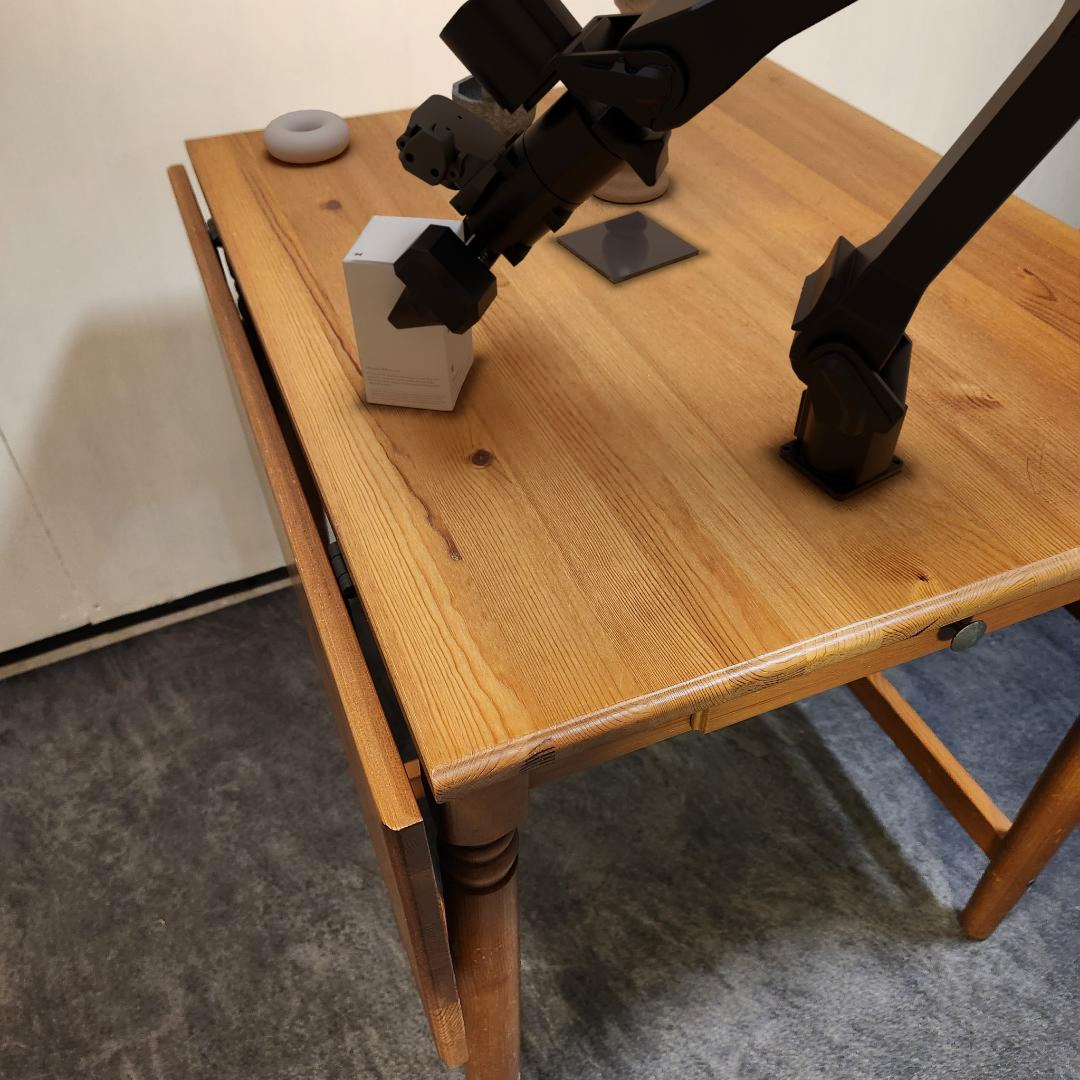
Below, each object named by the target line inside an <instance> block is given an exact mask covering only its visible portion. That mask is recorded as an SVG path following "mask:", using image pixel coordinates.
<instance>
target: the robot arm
mask: <svg viewBox="0 0 1080 1080" xmlns="http://www.w3.org/2000/svg"><path fill="white" fill-rule="evenodd" d="M858 1H859V0H657V1H655V2H654V3H653V4H652V5H651V6H650V7H649V8H648V9H647V10H646V11H645V12H637V13H623V14H620V13H611V14H610V13H609V14H597V15H595V16H593V17H592V18H590V20H589V21H588V22H587V23H586V24H585V25H584V26H582V25H581V24H580V22H579V21H578V20H577V19H576V17H575V16H574V15H573V14H572V12H571V11H570V10H569V9H568V8H567V6H566V5H565V4H564V2H563V1H562V0H466V1H465V2H464V3H462V4H461V6H460V7H459V8H458V9H457V11H455V13H454V14H453V15H452V16H451V18H450V19H448V21H447V23H446V24H445V25H444V27H443V28H442V30H441V31H440V33H439V35H438V37H439V39H440V40H441V41H442V43H444V44H445V45H446V47H447V48H448V50H450V51H451V52H452V54H453V55H454V56H455V57H456V58H457V59H458V61H460V63H461V64H462V65H463V66H464V67H465V69H466V70H467V71H468V72H469V73H470V75H473V77H474V78H475V79H476V80H477V81H478V82H479V84H480V85H481V86H482V87H483V88H484V89H485V91H486V92H487V93H488V94H489V95H490V96H491V98H492V99H493V100H494V101H495V102H496V103H497V104H498V106H499V107H500V108H501V109H502V110H503V111H504V110H505V109H506V110H507V111H508V112H509V113H510V114H511V115H512V114H513V113H514V112H515V111H516V110H517V109H518V108H519V107H520V106H521V105H523V106H522V108H523V109H524V110H525V111H526V113H528V112H529V111H530V110H531V109H532V108H533V107H534V106H535V105H536V104H537V105H538V104H539V102H541V101H542V100H543V99H544V98H545V97H546V96H547V95H548V93H550V92H551V90H552V89H553V88H554V87H555V86H556V85H557V84H558V83H559V82H561V83H562V84H563V86H564V87H565V88H566V90H565V91H564V92H563V93H562V94H561V95H560V96H559V97H558V98H557V99H556V100H555V101H554V102H553V103H552V104H551V105H550V106H549V107H548V108H547V109H546V110H545V111H544V112H543V113H542V114H540V116H539V117H537V119H536V120H534V121H533V123H532V125H531V126H528V127H527V128H526V129H525V130H524V129H523V128H522V127H520V128H519V129H518V130H517V131H516V132H515V133H514V134H513V135H512V136H511V137H508V138H507V137H505V136H504V135H503V134H501V133H500V132H498V131H497V130H495V129H494V128H493V126H492V125H491V124H490V123H488V122H487V121H485V120H484V119H482V118H481V117H479V116H477V115H476V114H474V113H472V112H471V111H469V110H468V109H466V108H464V107H463V106H461V105H459V104H458V103H456V102H454V101H453V100H452V98H449V97H448V96H446V95H443V94H439V93H438V94H431V95H430V96H428V98H427V99H426V100H424V101H423V102H422V103H420V105H418V106H417V107H416V109H414V110H413V111H412V112H411V114H410V117H409V119H408V122H407V125H406V128H405V131H404V132H403V133H402V134H401V135H399V137H397V139H396V140H395V144H396V148H397V149H398V150H399V152H398V156H397V158H398V160H399V162H400V163H401V165H402V168H403V169H404V171H406V172H407V173H409V174H411V175H412V176H414V177H416V178H418V179H419V180H421V181H422V182H424V183H425V184H426V185H429V186H431V187H435V186H439V185H440V186H443V187H444V188H446V189H448V190H450V191H457V193H456V194H455V195H454V196H453V197H452V198H451V199H450V200H449V201H448V203H449V204H450V206H451V207H452V208H453V209H454V211H455V212H456V213H458V215H460V216H461V217H463V219H462V221H463V231H464V242H465V243H464V242H463V241H462V240H461V239H460V238H459V237H458V236H457V235H456V233H455V232H454V231H453V230H452V229H451V228H450V227H449V226H442V225H435V224H430V225H429V226H428V227H427V228H426V229H425V230H424V231H423V232H422V233H421V234H420V235H419V236H418V237H417V238H416V239H415V240H414V241H413V242H412V243H411V244H410V245H409V246H408V248H407V249H406V250H405V251H404V252H403V253H402V254H401V255H400V256H399V258H398V259H397V260H396V261H395V262H394V263H393V267H394V272H395V275H396V276H397V277H398V278H399V279H400V280H401V281H402V282H403V283H404V284H405V285H406V286H405V288H404V290H403V292H402V293H401V295H400V297H399V299H398V300H397V302H396V304H395V305H394V307H393V309H392V311H391V312H390V314H389V316H388V318H387V320H388V321H389V322H390V323H391V324H392V325H393V326H394V327H395V328H396V329H408V328H417V327H426V326H446V327H447V328H448V329H449V330H450V331H451V332H452V333H454V334H459V335H463V334H464V333H465V332H466V331H467V330H469V329H470V328H471V327H473V326H475V325H476V324H477V323H478V322H480V320H482V318H483V316H484V315H485V313H486V312H487V311H488V309H489V308H490V307H491V305H492V303H494V301H495V299H496V298H497V297H498V280H497V279H498V278H497V276H496V275H495V274H494V272H492V271H491V269H492V268H493V266H494V265H495V264H496V262H497V261H498V260H499V258H500V257H501V256H503V257H504V258H505V260H506V261H507V262H508V263H509V264H510V265H511V266H512V267H513V268H516V267H517V266H518V265H519V264H521V262H522V261H524V260H525V258H526V257H527V255H528V254H529V252H530V251H531V250H532V248H533V247H534V245H535V244H537V243H538V242H539V241H540V240H541V239H542V238H544V236H546V235H547V234H548V233H549V232H550V231H551V232H552V233H553V234H556V233H557V232H558V231H559V230H560V229H562V228H563V227H564V226H565V225H566V224H567V222H568V221H569V219H570V218H571V216H573V215H572V214H573V213H574V212H575V210H577V209H578V207H580V206H581V205H582V204H583V203H584V202H586V201H587V200H588V199H589V198H590V197H591V196H593V195H594V193H595V192H596V191H597V190H598V189H600V188H601V187H602V186H603V185H604V184H605V183H607V182H608V181H609V180H610V179H611V178H612V177H614V176H615V175H616V174H617V173H618V172H619V171H621V170H622V169H623V168H624V167H625V166H627V165H628V164H629V165H630V167H631V168H632V169H633V170H634V172H635V173H636V174H637V175H638V176H639V178H640V179H641V180H642V181H643V182H644V184H645V185H646V186H648V187H653V186H654V185H655V184H656V183H657V181H658V179H659V178H660V176H661V174H662V172H663V171H664V170H665V169H666V167H667V166H668V164H669V162H670V158H669V142H670V140H671V136H672V133H673V132H672V130H675V129H678V128H681V127H682V126H684V125H686V124H687V123H689V122H690V121H691V120H692V119H694V118H695V117H696V116H697V115H698V114H701V112H702V111H704V110H705V109H706V108H707V107H709V106H710V105H711V104H713V103H714V102H715V101H716V100H717V99H719V98H720V97H721V96H723V95H724V94H725V93H726V92H727V91H729V90H730V89H731V88H733V86H734V85H735V84H736V83H737V82H739V81H740V80H741V79H742V78H743V77H744V76H745V75H746V74H747V73H748V72H749V71H751V70H752V69H753V68H754V67H755V66H756V65H757V64H759V62H761V60H763V59H764V58H766V56H768V55H769V54H770V53H771V52H773V51H774V50H775V49H776V48H777V47H779V46H780V45H781V44H783V43H785V42H786V41H789V40H790V39H792V38H793V37H795V36H797V35H799V34H801V33H803V32H805V31H806V30H808V29H810V28H812V27H814V26H815V25H817V24H819V23H821V22H822V21H824V20H826V19H828V18H829V17H832V16H833V15H835V14H837V13H838V12H840V11H842V10H845V9H846V8H847V7H849V6H851V5H853V4H855V3H857V2H858ZM1079 120H1080V0H1064V2H1063V4H1062V5H1061V8H1060V9H1059V10H1058V13H1057V14H1056V16H1055V18H1054V19H1053V21H1052V22H1051V23H1050V25H1049V26H1048V27H1047V28H1046V29H1045V30H1044V32H1043V33H1042V34H1041V35H1040V36H1039V38H1038V39H1037V40H1036V41H1035V42H1034V44H1033V45H1032V46H1031V47H1030V49H1029V50H1028V51H1027V52H1026V53H1025V55H1024V56H1023V57H1022V59H1021V60H1020V61H1019V62H1018V64H1017V65H1016V66H1015V67H1014V68H1013V70H1012V71H1011V73H1010V74H1009V75H1008V76H1007V77H1006V79H1004V81H1003V82H1002V84H1000V86H999V87H998V88H997V89H996V91H995V92H994V93H993V94H992V95H991V97H990V98H989V99H988V101H987V102H986V103H985V104H984V105H983V107H982V108H981V109H980V111H978V113H977V114H976V115H975V116H974V118H973V119H972V120H971V122H970V123H969V124H968V125H967V126H966V128H965V129H964V130H963V131H962V133H960V134H959V136H958V138H957V139H956V140H955V141H954V142H953V144H952V145H951V146H950V147H949V148H948V150H947V151H946V152H945V153H944V155H942V157H941V158H940V160H939V161H938V162H937V163H936V164H935V166H934V167H933V168H932V170H931V171H930V172H929V173H928V175H927V176H926V177H925V178H924V179H923V180H922V182H921V183H920V184H919V186H918V187H917V188H916V189H915V190H914V192H913V193H912V194H911V195H910V196H909V197H908V199H907V200H906V201H905V203H904V204H903V205H902V206H901V208H899V210H898V211H897V212H896V214H895V215H894V216H893V217H892V219H891V220H890V221H889V222H888V224H887V225H886V226H885V227H884V228H883V229H882V230H881V231H880V232H879V233H878V234H877V235H875V236H873V237H872V238H870V239H869V240H867V241H865V242H863V243H861V244H860V245H858V246H857V247H856V246H855V245H854V244H853V243H852V242H851V241H849V240H848V239H847V238H846V237H845V236H844V235H839V236H838V238H837V239H836V240H835V242H834V245H833V247H832V248H831V250H830V252H829V254H828V256H827V257H826V258H825V260H824V262H823V263H821V265H820V266H819V267H818V268H817V269H816V270H814V271H813V272H811V273H810V274H808V275H806V276H805V278H804V281H803V285H802V288H801V292H800V295H799V299H798V301H797V305H796V307H795V308H796V309H795V313H794V316H793V319H792V322H791V326H790V330H791V331H794V334H793V338H792V342H791V346H790V347H789V353H788V358H789V361H790V367H791V369H792V371H793V373H794V374H795V376H796V377H797V379H798V380H799V381H800V382H801V383H803V384H804V385H805V386H806V388H805V389H803V390H802V391H801V395H800V396H801V397H800V400H799V406H798V410H797V415H796V419H795V424H794V429H793V436H794V437H795V439H792V440H790V441H788V442H786V443H783V444H781V445H780V446H779V448H778V449H779V450H778V455H780V456H781V457H782V458H783V459H785V460H786V461H787V462H788V463H790V464H791V465H792V466H793V467H795V468H796V469H797V470H798V471H800V472H801V473H802V474H804V475H805V476H806V477H808V479H810V480H811V481H813V482H814V483H815V484H816V485H818V486H819V487H820V488H821V489H822V490H824V491H826V493H828V494H829V495H830V496H831V497H833V498H834V499H836V500H841V501H843V500H845V499H847V498H849V497H851V496H853V495H855V494H857V493H859V492H861V491H863V490H865V489H867V488H869V487H871V486H873V485H874V484H877V483H878V482H881V481H883V480H885V479H886V478H888V477H891V476H892V475H895V474H896V473H899V472H901V471H902V470H903V468H904V465H905V463H904V461H903V460H902V459H901V458H899V456H897V455H896V454H894V453H895V451H896V447H897V444H898V441H899V437H900V436H901V432H902V428H903V425H904V422H905V419H906V415H907V412H908V408H909V405H908V404H906V401H907V400H906V399H907V393H908V386H909V385H908V384H909V376H910V368H911V359H912V351H913V345H914V344H913V340H912V339H911V338H910V336H909V335H908V334H907V332H906V329H907V327H908V325H909V323H910V322H911V319H912V317H913V315H914V313H915V311H916V310H917V308H918V306H919V304H920V302H921V299H922V298H923V296H924V294H925V292H926V290H927V289H928V288H929V286H930V285H931V284H932V282H934V280H935V279H936V278H937V277H938V276H939V275H940V274H941V273H942V271H944V269H945V268H946V267H947V266H948V265H949V264H950V263H951V262H952V261H953V260H954V258H955V257H957V255H958V254H959V253H960V252H961V250H963V249H964V248H965V246H966V245H968V243H969V242H970V241H971V240H972V238H974V237H975V235H976V234H977V233H978V232H980V230H981V229H982V227H983V226H984V225H985V224H986V223H987V222H988V221H989V220H990V219H991V217H993V216H994V214H995V213H996V212H997V211H998V210H999V209H1000V208H1001V207H1002V205H1003V204H1004V203H1005V202H1006V201H1007V200H1008V199H1009V198H1010V197H1011V195H1013V194H1014V193H1015V191H1016V190H1017V189H1018V188H1019V187H1020V186H1021V184H1023V182H1024V181H1025V180H1026V179H1027V178H1028V177H1029V176H1030V175H1031V174H1032V172H1034V171H1035V169H1036V168H1037V167H1038V166H1039V165H1040V163H1042V161H1043V160H1044V159H1045V158H1046V157H1047V156H1048V155H1049V154H1050V153H1051V152H1052V150H1053V149H1054V148H1055V147H1056V146H1057V145H1058V144H1059V143H1060V142H1061V140H1062V139H1063V138H1064V137H1066V135H1067V134H1068V133H1069V132H1070V131H1071V130H1072V128H1073V127H1074V126H1075V125H1076V124H1077V123H1078V122H1080V121H1079Z"/></svg>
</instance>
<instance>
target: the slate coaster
mask: <svg viewBox="0 0 1080 1080" xmlns="http://www.w3.org/2000/svg"><path fill="white" fill-rule="evenodd" d="M556 242H558V243H559V244H560V245H561V246H563V247H564V248H566V249H567V250H568V251H569V252H571V253H572V254H574V256H576V257H577V258H578V259H580V260H582V261H583V262H584V263H586V264H588V265H589V267H591V268H593V269H594V270H595V271H597V272H598V273H599V274H601V275H602V276H604V277H605V278H606V279H607V280H609V281H610V282H611V283H613V284H617V283H620V282H622V281H625V280H628V279H632V278H633V277H636V276H637V277H638V276H639V275H642V274H646V273H649V272H651V271H654V270H657V269H660V268H663V267H665V266H668V265H671V264H673V263H676V262H679V261H682V260H684V259H688V258H692V257H693V256H696V255H699V254H700V249H698V248H697V247H695V246H694V245H692V244H690V243H689V242H687V241H686V240H684V239H683V238H681V237H680V236H678V235H676V234H675V233H673V232H672V231H670V230H669V229H667V228H666V227H664V226H662V225H661V224H659V223H658V222H657V221H654V220H653V219H651V218H650V217H649V216H646V214H644V213H642V212H640V211H639V210H637V211H634V212H630V213H628V214H624V215H622V216H618V217H615V218H612V219H609V220H606V221H602V222H600V223H597V224H594V225H591V226H588V227H584V228H582V229H579V230H575V231H572V232H569V233H566V234H562V235H559V236H556Z"/></svg>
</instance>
